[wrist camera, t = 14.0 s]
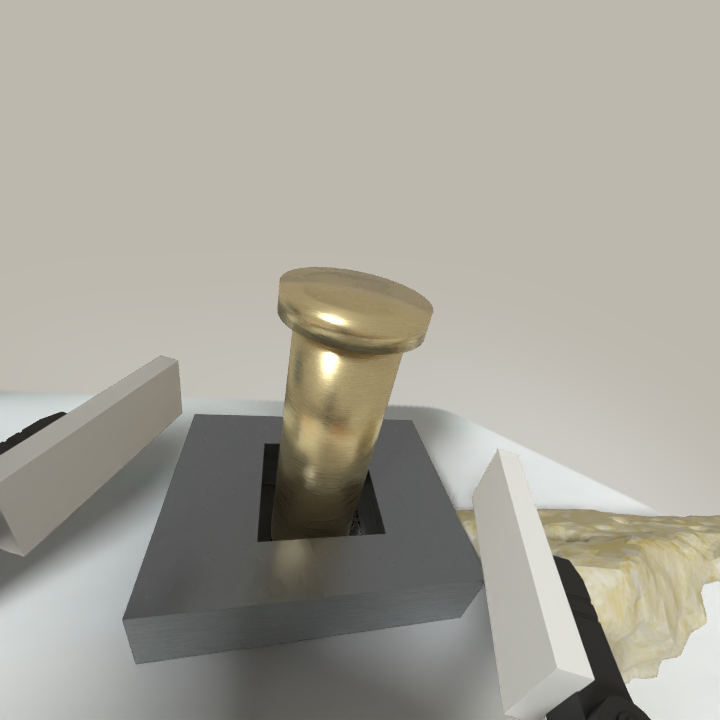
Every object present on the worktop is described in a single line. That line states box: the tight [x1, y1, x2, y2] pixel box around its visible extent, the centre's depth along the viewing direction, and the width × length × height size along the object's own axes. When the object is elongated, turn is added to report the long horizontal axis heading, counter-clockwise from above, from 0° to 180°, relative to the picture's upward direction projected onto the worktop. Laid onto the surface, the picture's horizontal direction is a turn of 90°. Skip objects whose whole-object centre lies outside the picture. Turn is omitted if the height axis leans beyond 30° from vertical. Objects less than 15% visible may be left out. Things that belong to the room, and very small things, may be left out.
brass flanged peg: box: [271, 267, 433, 541], centre depth 18 cm, size 6×6×16 cm
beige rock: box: [455, 509, 720, 683], centre depth 19 cm, size 15×7×15 cm
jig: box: [122, 414, 485, 664], centre depth 21 cm, size 16×12×4 cm
